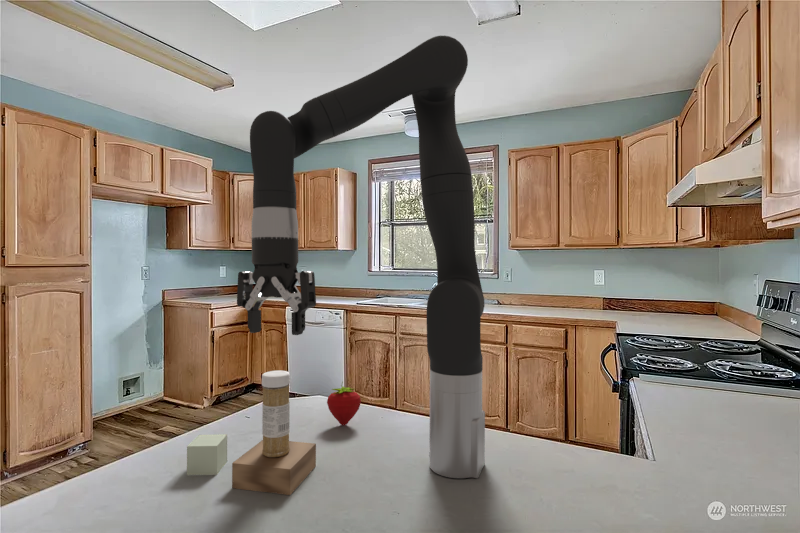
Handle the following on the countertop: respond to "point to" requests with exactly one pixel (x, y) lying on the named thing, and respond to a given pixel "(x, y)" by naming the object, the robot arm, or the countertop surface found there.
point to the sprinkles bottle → (276, 413)
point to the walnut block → (274, 469)
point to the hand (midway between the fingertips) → (275, 333)
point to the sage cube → (207, 454)
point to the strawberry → (344, 404)
